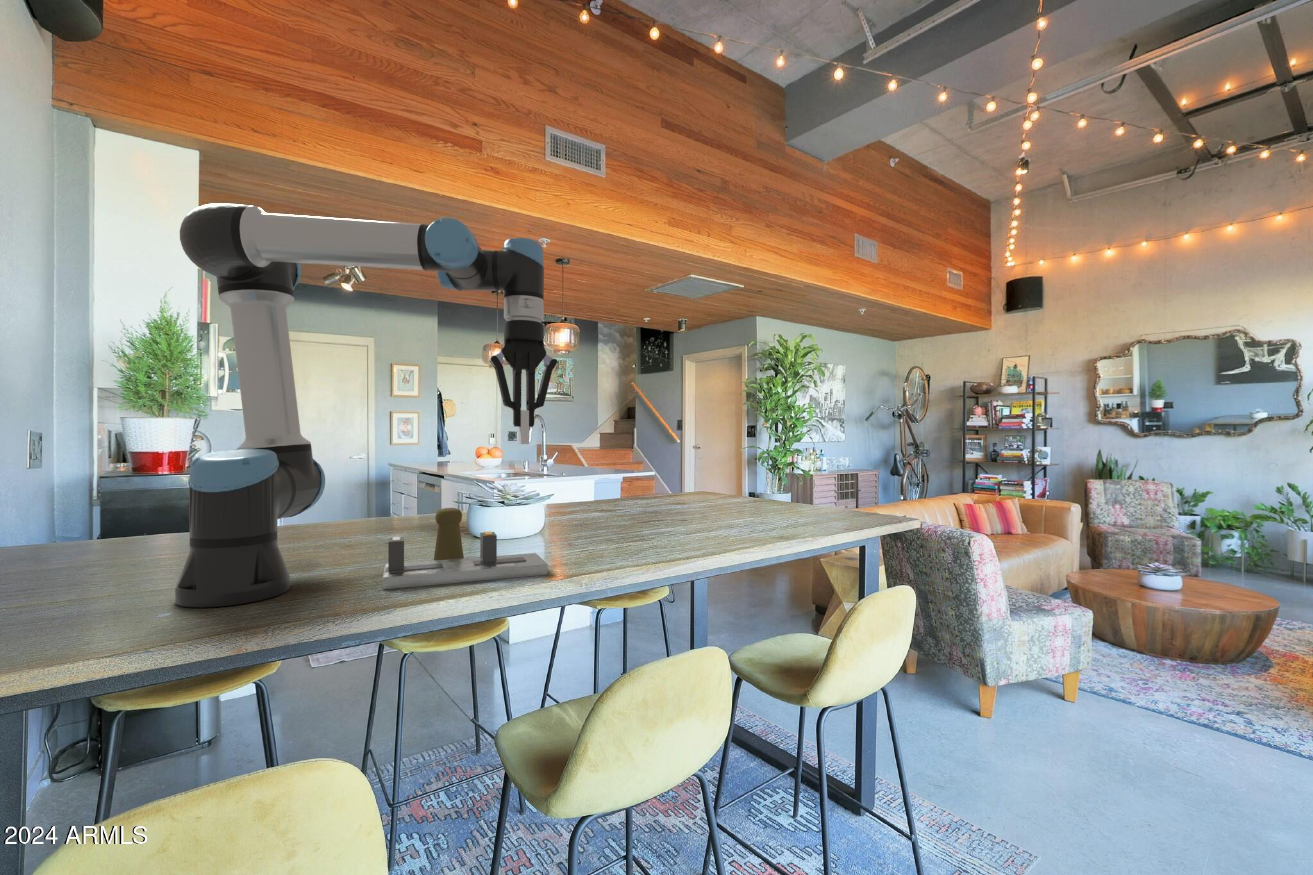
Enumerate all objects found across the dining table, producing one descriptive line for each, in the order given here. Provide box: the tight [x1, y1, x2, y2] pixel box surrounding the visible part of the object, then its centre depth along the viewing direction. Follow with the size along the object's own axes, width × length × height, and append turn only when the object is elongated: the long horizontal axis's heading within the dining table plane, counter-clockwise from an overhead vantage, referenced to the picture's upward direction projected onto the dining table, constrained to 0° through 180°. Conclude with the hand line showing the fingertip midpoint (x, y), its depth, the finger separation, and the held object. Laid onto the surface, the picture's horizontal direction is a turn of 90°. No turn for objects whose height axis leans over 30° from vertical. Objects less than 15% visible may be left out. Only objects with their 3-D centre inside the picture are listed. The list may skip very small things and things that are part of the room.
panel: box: [382, 552, 549, 590], centre depth 110 cm, size 28×11×2 cm, turn 113°
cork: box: [433, 507, 465, 561], centre depth 121 cm, size 6×6×11 cm
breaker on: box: [387, 536, 405, 571], centre depth 105 cm, size 2×4×5 cm, turn 23°
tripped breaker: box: [479, 530, 498, 563], centre depth 111 cm, size 2×4×5 cm, turn 23°
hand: (523, 443), depth 114 cm, fingers closed
